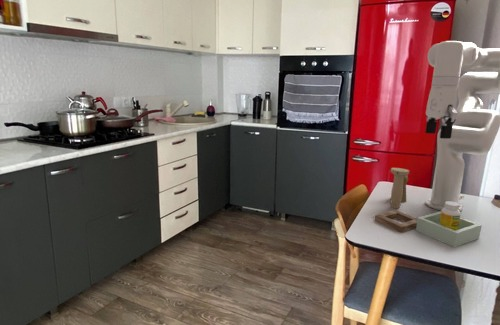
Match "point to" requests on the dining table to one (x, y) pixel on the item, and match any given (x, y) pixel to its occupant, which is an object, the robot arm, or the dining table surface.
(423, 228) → the bin
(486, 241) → the dining table surface
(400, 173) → the handle
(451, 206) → the supplement bottle
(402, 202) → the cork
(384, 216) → the holder
